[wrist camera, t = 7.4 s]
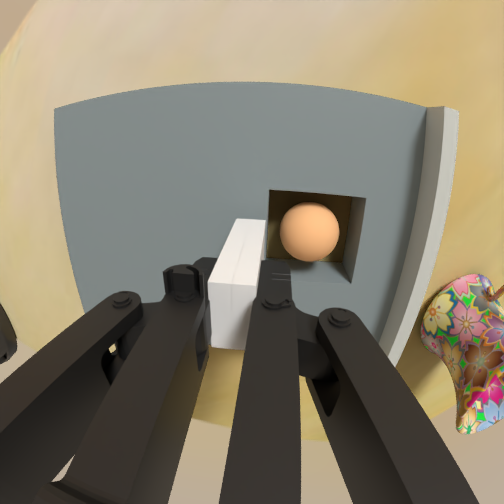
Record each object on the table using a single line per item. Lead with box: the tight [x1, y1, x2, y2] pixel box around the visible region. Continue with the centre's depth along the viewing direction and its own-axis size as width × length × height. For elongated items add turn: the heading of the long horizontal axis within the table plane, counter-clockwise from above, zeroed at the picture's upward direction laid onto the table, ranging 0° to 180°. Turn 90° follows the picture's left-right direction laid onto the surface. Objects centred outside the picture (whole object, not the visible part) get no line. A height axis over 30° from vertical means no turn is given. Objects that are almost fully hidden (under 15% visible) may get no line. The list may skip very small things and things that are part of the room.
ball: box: [280, 202, 339, 261], centre depth 17 cm, size 4×4×4 cm
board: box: [54, 82, 459, 367], centre depth 17 cm, size 24×17×5 cm
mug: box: [421, 274, 504, 434], centre depth 15 cm, size 12×9×11 cm
